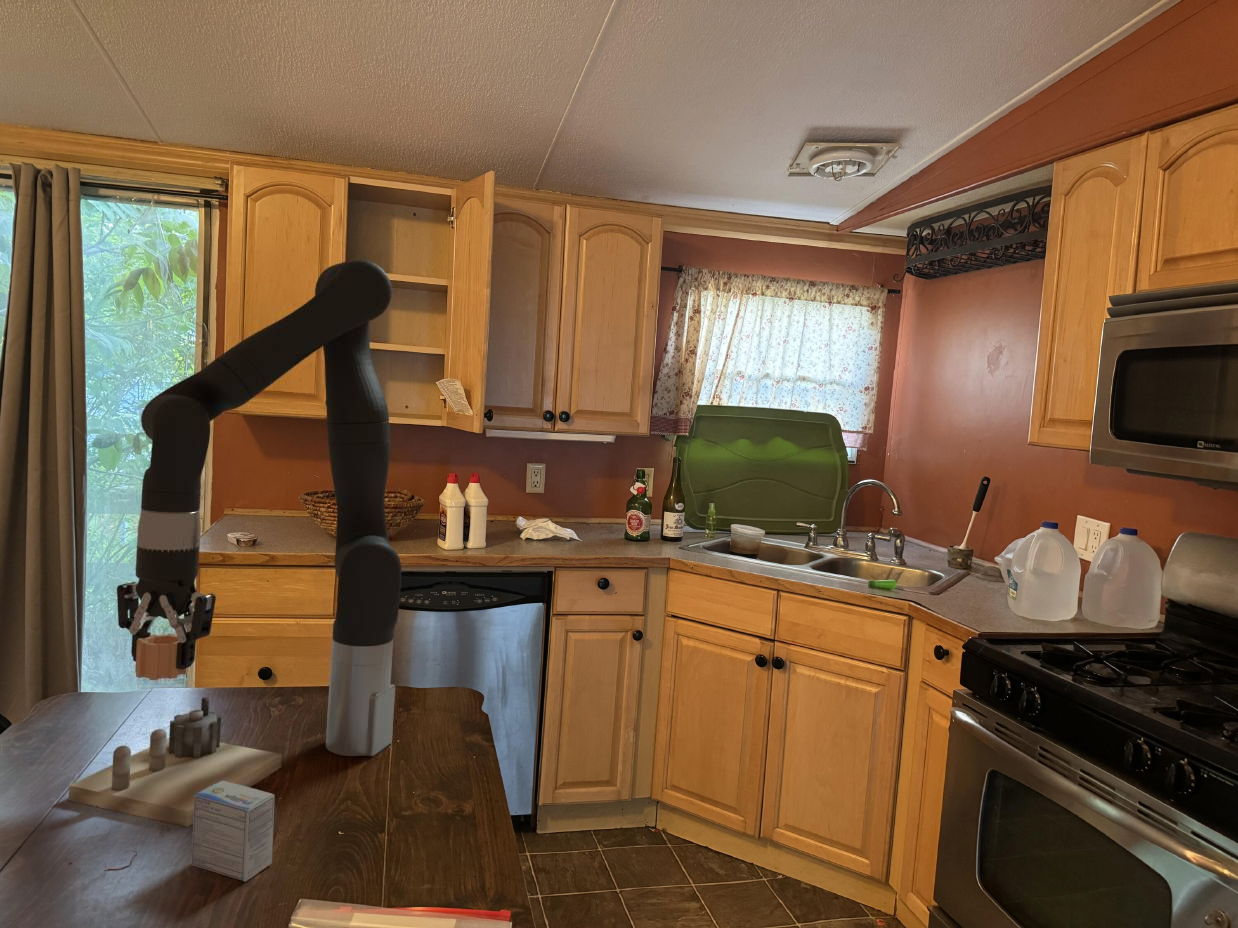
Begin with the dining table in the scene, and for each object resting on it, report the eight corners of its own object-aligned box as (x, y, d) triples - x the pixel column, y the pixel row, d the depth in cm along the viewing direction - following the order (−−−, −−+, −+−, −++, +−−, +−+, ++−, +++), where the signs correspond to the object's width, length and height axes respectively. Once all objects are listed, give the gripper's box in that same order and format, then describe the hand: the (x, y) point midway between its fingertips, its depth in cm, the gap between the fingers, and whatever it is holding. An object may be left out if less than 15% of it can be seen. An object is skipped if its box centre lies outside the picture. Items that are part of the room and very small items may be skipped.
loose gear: (197, 669, 118) (199, 637, 118) (164, 682, 112) (166, 649, 112) (159, 662, 120) (161, 631, 120) (124, 675, 114) (126, 642, 113)
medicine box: (272, 865, 100) (277, 793, 99) (244, 884, 95) (248, 808, 95) (219, 848, 102) (223, 778, 101) (189, 866, 98) (193, 793, 97)
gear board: (281, 767, 125) (284, 707, 124) (187, 826, 106) (191, 756, 106) (175, 746, 129) (178, 688, 128) (68, 800, 110) (71, 732, 110)
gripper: (233, 545, 117) (226, 664, 118) (145, 533, 120) (138, 649, 121) (195, 553, 110) (187, 680, 111) (101, 539, 113) (95, 663, 114)
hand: (162, 663), depth 116 cm, fingers closed on loose gear, 6 cm apart
